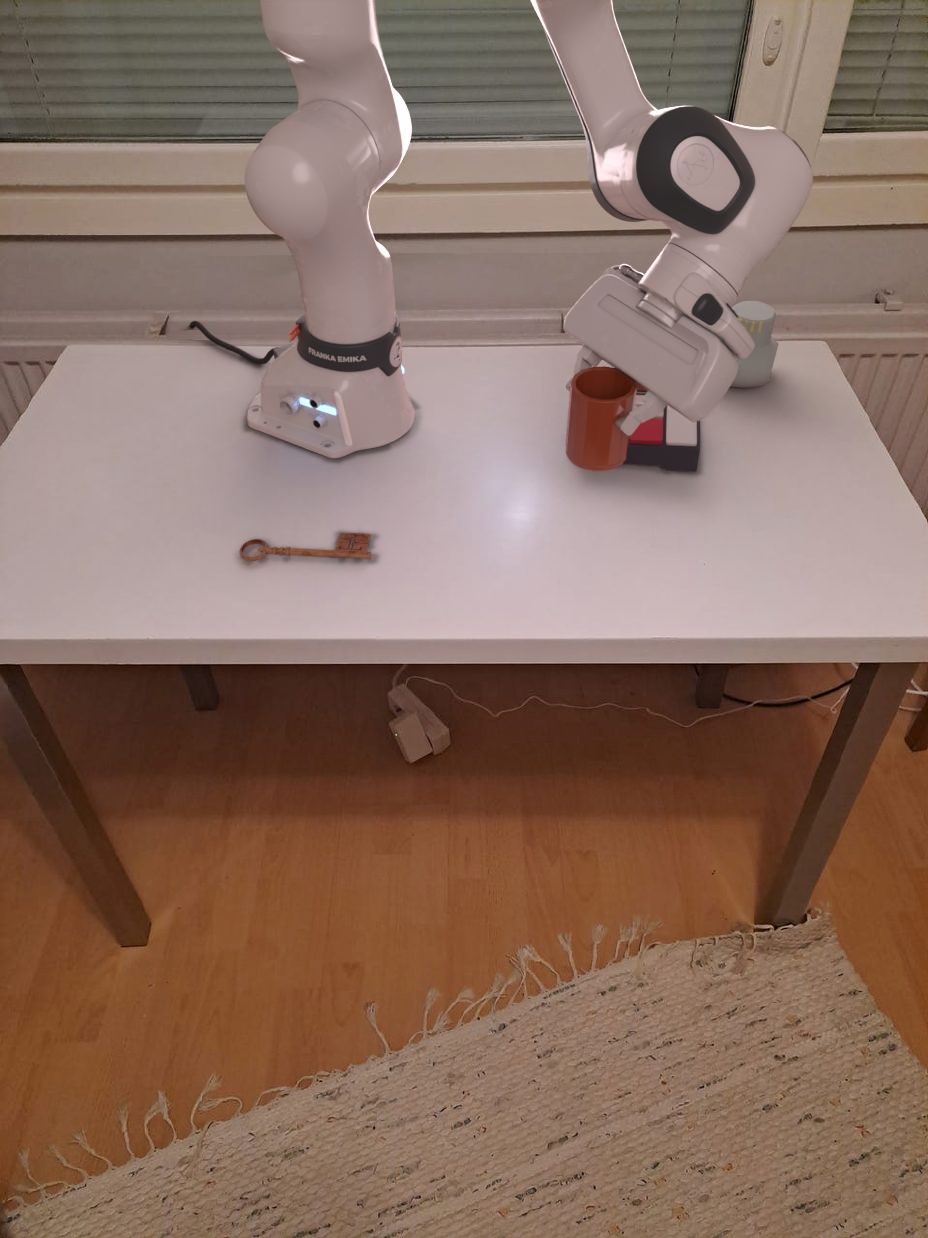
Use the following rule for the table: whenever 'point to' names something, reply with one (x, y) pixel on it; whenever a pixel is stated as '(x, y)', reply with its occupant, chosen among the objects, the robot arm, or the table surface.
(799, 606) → the table surface
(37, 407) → the table surface
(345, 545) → the key
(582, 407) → the cup
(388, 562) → the table surface
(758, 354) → the air freshener
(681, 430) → the calculator
